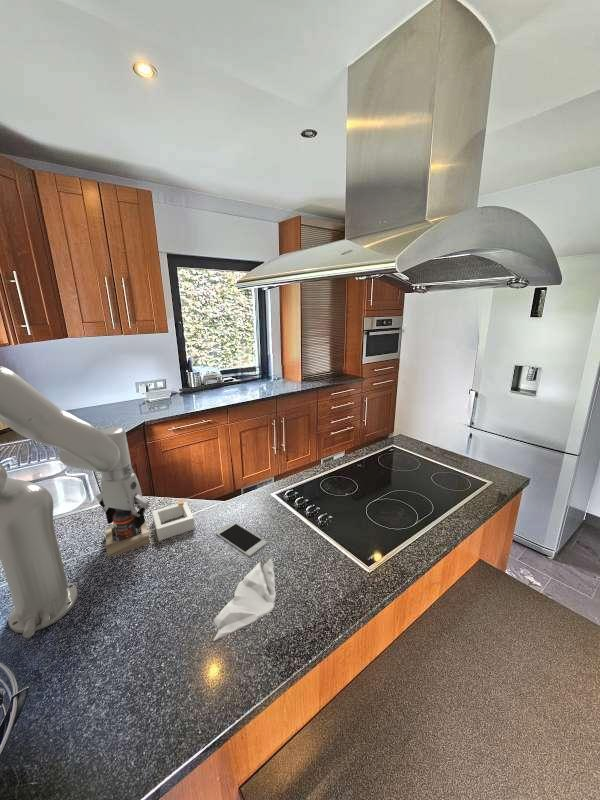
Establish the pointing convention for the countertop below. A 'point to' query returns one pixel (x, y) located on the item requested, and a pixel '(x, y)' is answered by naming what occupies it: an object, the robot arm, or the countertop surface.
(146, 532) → the block
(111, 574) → the countertop surface
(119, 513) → the supplement bottle
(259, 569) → the cloth
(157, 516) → the socket block
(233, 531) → the smartphone
